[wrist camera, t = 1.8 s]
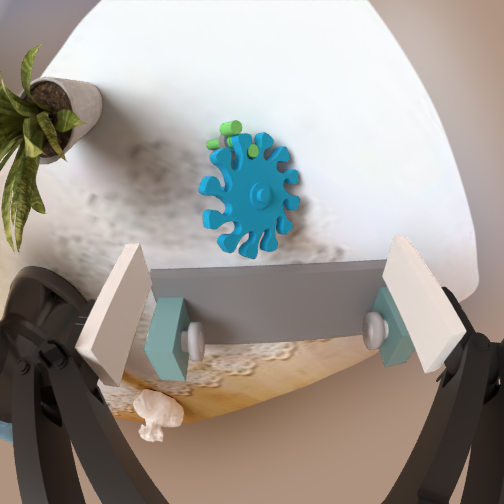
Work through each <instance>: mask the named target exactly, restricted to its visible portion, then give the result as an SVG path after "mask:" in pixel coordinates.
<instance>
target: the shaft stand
mask: <svg viewBox="0 0 504 504" xmlns="http://www.w3.org/2000/svg"><path fill="white" fill-rule="evenodd" d="M386 262H387V260H372V261H354V262H334V263H314V264H292V265H269V266H243V267H216V268H185V269H151V271H150V274H149V275H150V278H151V281H152V286H151V289H152V292H153V295H154V297H155V300H156V303H157V305H156V308H155V312H154V315H153V318H152V322H151V326H150V329H149V331H148V333H147V340H146V344H145V348H144V352H145V354H146V355H147V357H148V359H149V361H150V363H151V364H152V366H153V368H154V370H155V371H156V373H157V375H158V376H159V378H160V380H172V381H186V374H187V367H188V359H189V356H190V359H191V361H202V360H203V358H204V351H205V344H251V343H274V342H290V341H304V340H316V339H327V338H336V337H346V336H354V335H362V334H363V339H364V343H365V345H366V347H367V348H368V349H369V350H373V349H379V351H380V354H381V357H382V360H383V363H384V365H385V367H387V366H392V365H397V364H402V363H406V362H407V360H408V358H409V357H410V355H411V354H412V352H413V351H414V349H415V347H414V344H413V342H412V339H411V337H410V335H409V332H408V330H407V328H406V325H405V323H404V321H403V319H402V316H401V314H400V312H399V310H398V308H397V306H396V303H395V301H394V299H393V297H392V295H391V293H390V291H389V289H388V287H387V285H386V283H385V281H384V279H383V277H382V275H383V272H384V269H385V265H386Z"/></svg>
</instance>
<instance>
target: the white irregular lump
mask: <svg viewBox="0 0 504 504" xmlns="http://www.w3.org/2000/svg"><path fill="white" fill-rule="evenodd" d="M133 405H134V409H135V411H136V412H137V413H138V414H139V415H140V416H141V417H142V418H145V419H146V420H145V421H146V426H144V425H143V424H142V425H141V429H140V430H139V431H138V432H139V433H140V435H141V437H142V438H143V439H145V440H146V441H152V442H154V441H158V440H159V441H161V442H163V434H164V433H163V432H162V431H161V426H164V427H178V426H180V425H181V422H182V421H183V417H184V411H183V407H182V406H181V405H180V404H179V403H177V402H176V400H175V399H174V398H171V397H169V396H167V395H165V394H163V393H162V392H160V391H152V390H149V389H144V390H143V391H142V392H141V394H140V395H139V396H138V397H137V398H136V399H135V400H134V402H133Z"/></svg>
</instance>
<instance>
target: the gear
mask: <svg viewBox="0 0 504 504" xmlns="http://www.w3.org/2000/svg"><path fill="white" fill-rule="evenodd" d="M241 131H242V125H241V123H240V122H239V121H237V120H235V121H231V122H227V123H223V124H222V125H221V126H220V132H221V135H220V137H219V139H217V140H212V141H208V142H207V148H208V149H216V148H220V149H217V150H215V151H214V152H213V153H212V154H211V155H210V161H211V162H212V163H213V164H214V165H216V166H217V167H218V168H219V169H220V171H221V172H222V174H223V177H224V180H225V188H224V187H221V186H220V183H219V180H218V179H217V178H216V177H214V176H206V177H204V178H203V179H202V181H201V183H200V186H199V190H198V191H199V193H201V194H202V195H209V196H216V198H219V199H220V200H221V201H222V202H223V203H224V204H225V212H224V213H223V214H221V213H220V212H219V211H217V210H209V209H208V210H205V211H204V212H203V224H204V227H205V228H209V229H217V228H219V227H220V226H221V225H222V224H224V223H226V222H229V221H233V223H234V225H235V228H234V231H233V232H232V233H231V234H221V235H220V236H219V237H218V239H217V243H218V245H219V246H220V248H221V249H222V250H223V251H225V252H228V253H232V252H234V250H235V249H236V247H237V244H238V242H239V241H240V239H241V238H242V237H243V236H244V235H245V234H247V233H248V232H249V239H248V240H247V241H246V242H245V243H243V244H242V245H241V246H240V248H239V254H240V255H242V256H244V257H247V258H251V259H255V258H256V257H257V254H258V243H259V240H260V237H261V235H262V233H263V232H265V233H264V236H263V238H262V240H261V242H260V249H261V250H264V251H268V252H271V251H274V250H276V249H277V247H278V242H277V240H276V237H275V223H276V219H277V223H276V231H277V232H278V233H279V234H283V235H287V234H288V233H289V232H290V231H291V229H292V228H293V224H292V222H291V221H290V220H289V219H288V218H287V217H286V215H285V212H284V208H283V202H284V206H285V208H286V209H287V210H294V211H296V210H297V208H298V206H299V202H300V198H299V197H298V196H292V195H290V194H288V193H287V191H286V190H285V189H284V186H283V183H284V182H285V183H286V184H297V183H298V171H297V170H286V171H285V172H283V173H280V172H278V170H277V162H287V161H289V159H290V155H289V152H288V150H287V148H286V147H276V148H275V149H274V151H273V153H272V155H271V156H270V157H269V158H268V159H267V160H265V159H264V155H263V154H264V151H265V149H267V148H270V147H271V146H272V145H273V141H274V140H273V139H272V137H271V136H270V135H268V134H267V133H265V132H264V133H258V134H256V136H255V144H251V143H252V137H251V135H250V134H239V133H241Z"/></svg>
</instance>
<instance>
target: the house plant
mask: <svg viewBox="0 0 504 504" xmlns="http://www.w3.org/2000/svg"><path fill="white" fill-rule="evenodd" d="M41 45H43V44H41ZM41 45H39V46H37V47H35V48H33V49H32V50H30V51H28V53H27V54H26V56H25V57H24V60H23V62H22V66H21V79H22V86H23V88H24V89H23V90H22V92H21V93H20V95H19V97H18V96H16V95H15V94H13V93H12V92H11V91H10V90H9V89H8V88H7V87H5V85H4V83H3V79H2V84H0V122H5V123H3V124H1V125H0V161H1V159H2V158H3V156H4V155H5V154H6V153H8V154H7V155H6V156H5V158H4V159H3V160H2V162H1V163H0V171H1V169H2V168H3V166H4V165H5V163H6V162H7V160H8V159H9V157H10V156H11V155H12V153H13V152H14V151H15V150H16V148H17V147H18V148H19V149H18V152H17V154H16V157H15V160H14V162H13V165H12V167H11V169H10V171H9V174H8V177H7V180H6V183H5V188H4V192H3V199H2V218H3V223H4V229H5V234H6V238H7V241H8V242H9V244H10V246H11V247H12V249H13V251H14V247H13V242H12V237H11V228H10V205H11V219H12V223H13V225H14V218H15V212H16V208H17V212H16V221H15V237H16V244H17V249H18V252H19V248H20V245H21V242H22V233H23V227H24V225H25V223H26V220H27V218H28V215H29V212H30V209H31V207H32V208H33V209H34V210H35V211H37V212H39V213H42V214H47V213H45V207H44V204H43V202H42V199H41V197H40V194H39V191H38V189H37V185H36V174H37V170H38V167H39V164H50V163H52V162H55V161H57V160H58V159H59V158H62V159H64V160H65V161H66V159H65V156H64V154H65V153H66V152H67V151H68V150H69V149H70V148H71V147H72V146H73V145H74V144H75V143H76V142H77V141H79V140H80V139H81V138H82V137H83V136H84V135H85V134H86V133H87V132H88V131H89V130H90V129H92V128H93V127H94V126H95V124H96V123H97V122H98V120H99V118H100V116H101V112H102V103H103V102H102V97H101V94H100V92H99V90H98V89H97V87H96V86H95V85H93V84H91V83H88V82H82V81H76V80H69V79H61V78H52V77H42V78H38V79H36V80H34V81H32V82H31V83H30V76H31V71H32V66H33V61H34V57H35V54H36V52H37V51H38V49H39V47H40V46H41ZM1 77H2V76H1ZM12 190H13V193H14V195H13V198H12V204H11V196H12ZM14 255H15V254H14Z"/></svg>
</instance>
